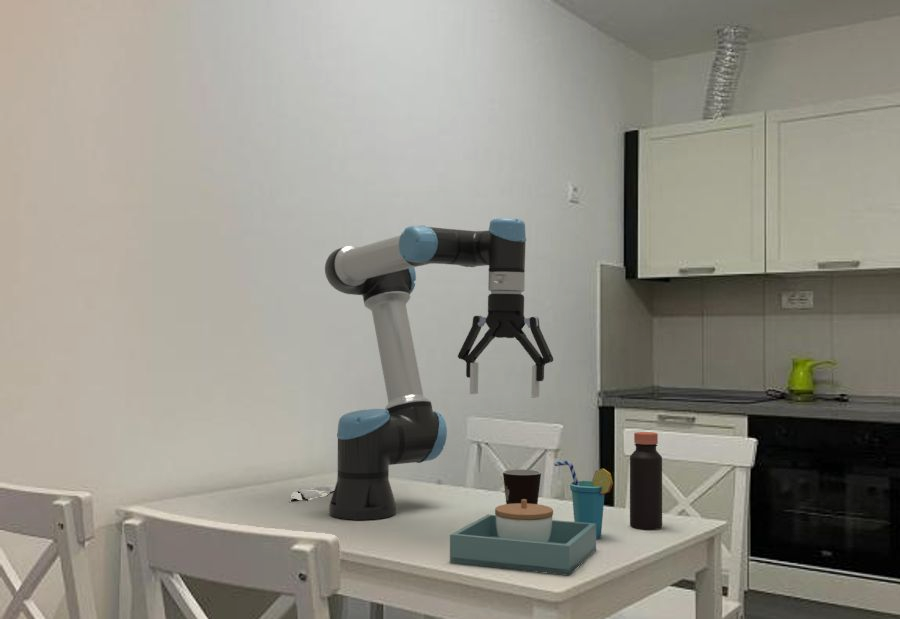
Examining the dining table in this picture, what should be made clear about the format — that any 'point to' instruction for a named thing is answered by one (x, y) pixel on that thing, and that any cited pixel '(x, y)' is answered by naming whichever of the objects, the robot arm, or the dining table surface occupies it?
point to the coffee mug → (521, 485)
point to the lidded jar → (524, 521)
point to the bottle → (646, 483)
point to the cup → (589, 496)
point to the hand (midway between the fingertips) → (504, 395)
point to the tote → (524, 547)
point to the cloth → (313, 493)
